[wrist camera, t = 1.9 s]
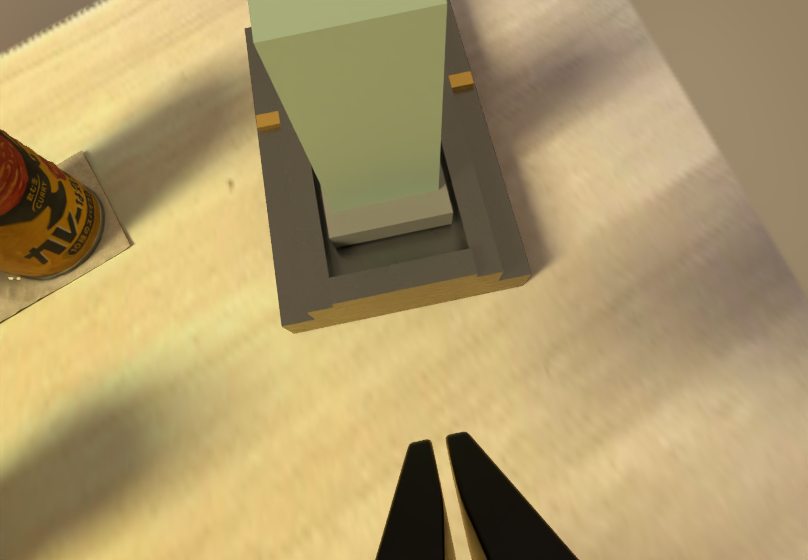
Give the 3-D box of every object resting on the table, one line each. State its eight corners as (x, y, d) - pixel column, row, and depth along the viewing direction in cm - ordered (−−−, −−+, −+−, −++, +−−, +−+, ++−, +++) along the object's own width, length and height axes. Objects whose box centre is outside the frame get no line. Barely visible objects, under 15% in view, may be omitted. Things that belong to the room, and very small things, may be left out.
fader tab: (451, 223, 22) (474, 39, 11) (334, 248, 22) (242, 86, 11) (429, 136, 23) (430, -103, 12) (320, 159, 23) (225, -61, 12)
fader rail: (522, 285, 23) (541, 260, 19) (294, 333, 23) (267, 317, 19) (444, 16, 28) (447, -47, 24) (257, 54, 28) (230, -2, 24)
